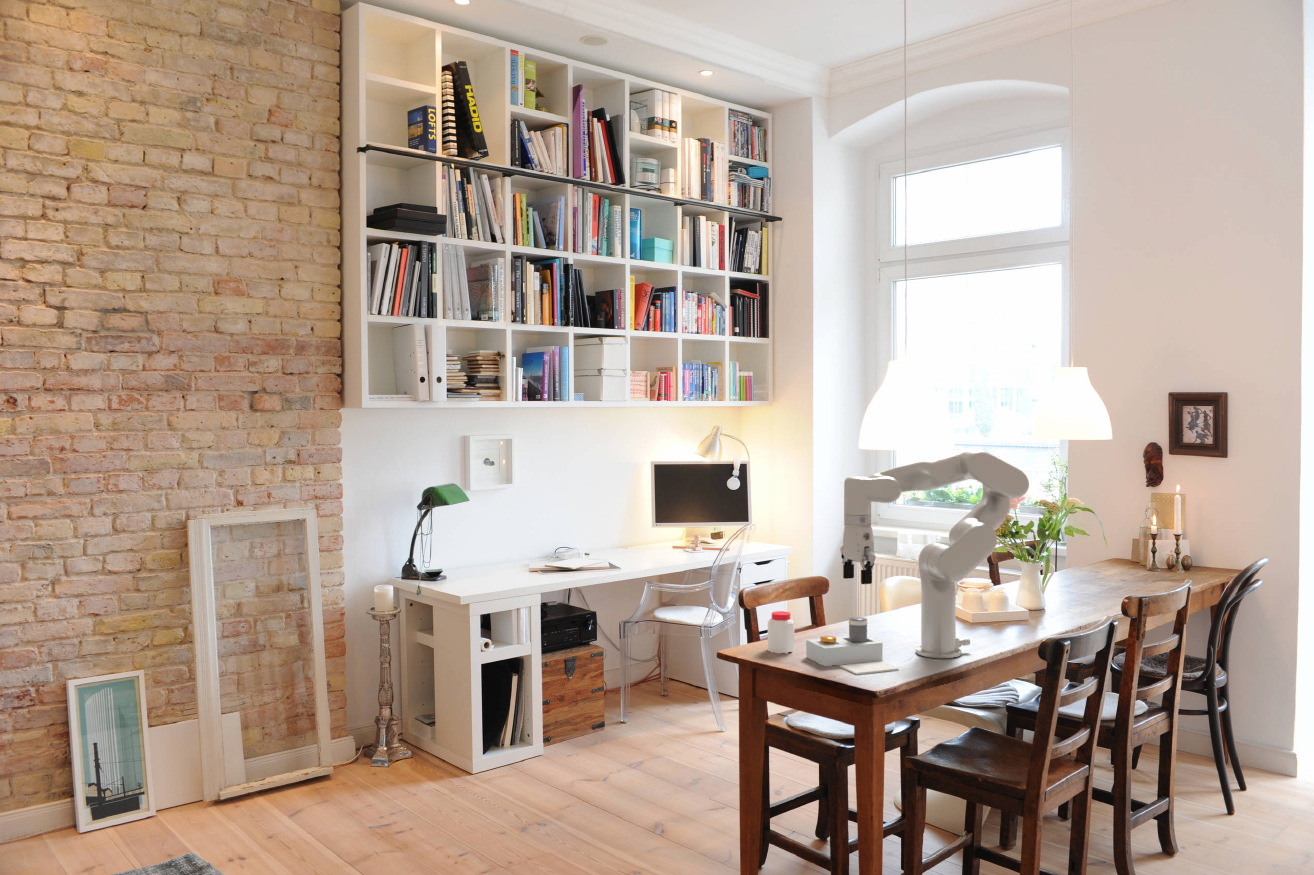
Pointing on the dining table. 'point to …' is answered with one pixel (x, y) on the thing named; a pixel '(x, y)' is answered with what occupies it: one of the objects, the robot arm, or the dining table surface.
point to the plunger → (828, 640)
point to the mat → (869, 667)
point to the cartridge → (857, 630)
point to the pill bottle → (781, 632)
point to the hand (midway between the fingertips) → (857, 581)
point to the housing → (844, 651)
